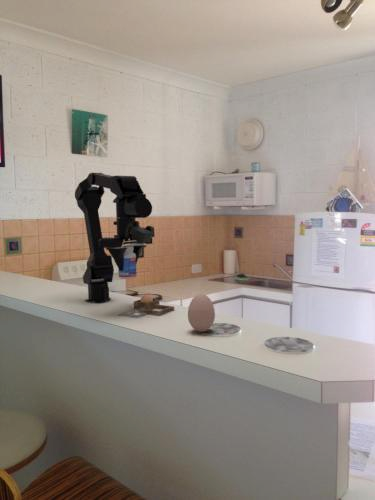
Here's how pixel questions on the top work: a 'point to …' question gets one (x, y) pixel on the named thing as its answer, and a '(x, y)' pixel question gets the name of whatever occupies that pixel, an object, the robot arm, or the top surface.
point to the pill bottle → (128, 264)
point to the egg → (201, 313)
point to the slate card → (132, 314)
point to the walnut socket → (153, 312)
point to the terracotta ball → (146, 299)
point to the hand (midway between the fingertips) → (127, 269)
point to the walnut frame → (145, 304)
